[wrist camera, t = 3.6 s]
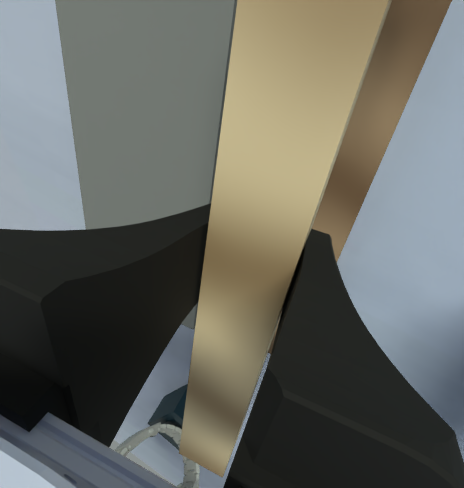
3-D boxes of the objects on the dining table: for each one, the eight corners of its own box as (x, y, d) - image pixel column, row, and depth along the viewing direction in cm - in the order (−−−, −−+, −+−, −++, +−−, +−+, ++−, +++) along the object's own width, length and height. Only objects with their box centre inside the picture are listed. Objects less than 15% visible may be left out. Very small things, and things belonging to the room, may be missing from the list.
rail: (240, 430, 17) (222, 477, 15) (200, 410, 18) (179, 453, 16) (608, -615, 3) (886, -1429, 2) (382, -560, 4) (380, -1110, 2)
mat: (195, 326, 26) (193, 329, 26) (96, 282, 28) (93, 285, 28) (285, -363, 9) (281, -378, 9) (19, -334, 11) (8, -346, 11)
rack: (295, 350, 23) (273, 431, 18) (221, 318, 25) (181, 386, 20) (558, -255, 8) (808, -683, 3) (333, -251, 10) (285, -551, 5)
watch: (206, 433, 35) (148, 561, 26) (152, 385, 34) (74, 501, 25) (236, 423, 31) (181, 566, 23) (177, 370, 31) (96, 497, 22)
